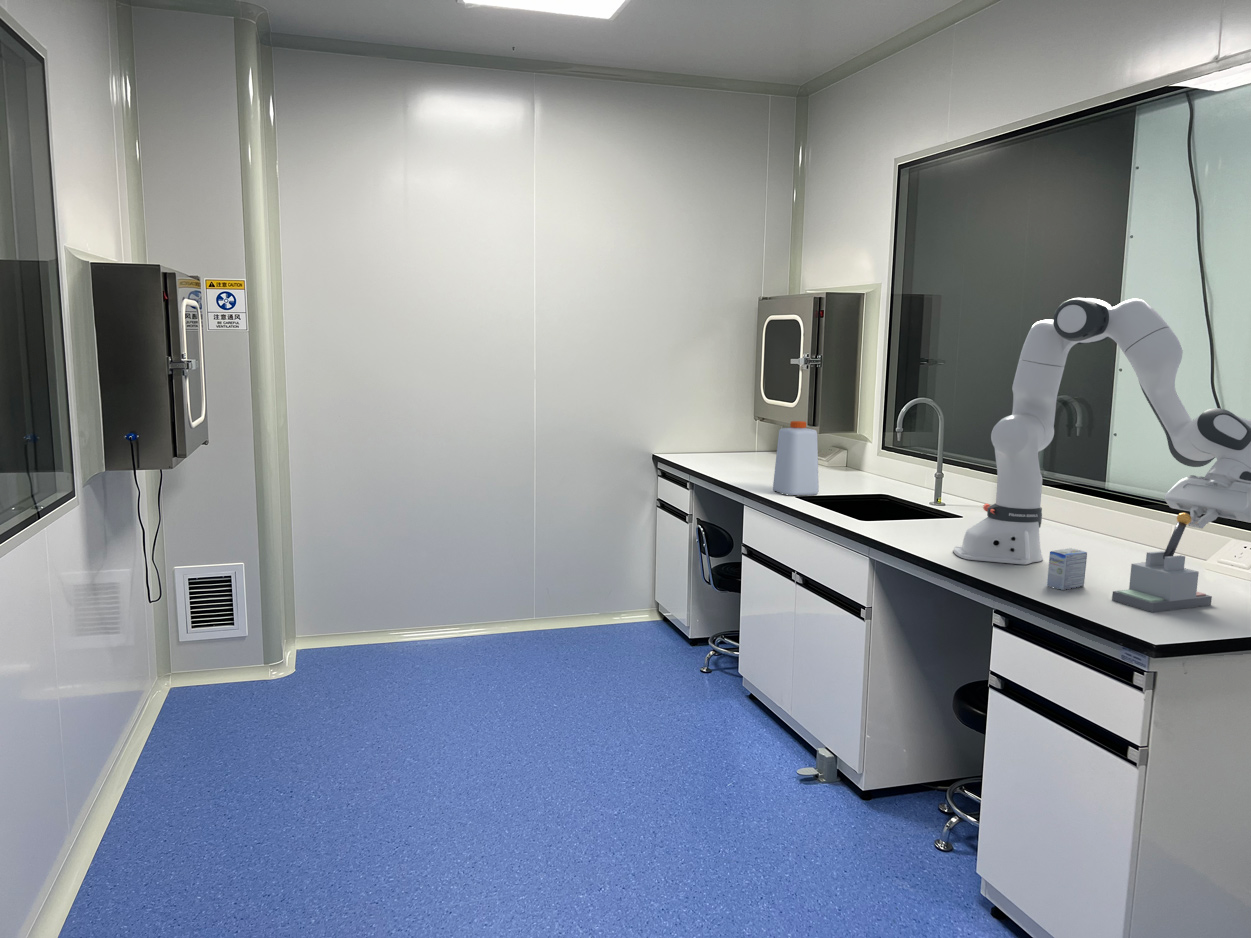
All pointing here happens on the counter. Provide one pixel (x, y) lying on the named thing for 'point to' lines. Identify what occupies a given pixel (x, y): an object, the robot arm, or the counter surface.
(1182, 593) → the breaker block
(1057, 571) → the medicine box
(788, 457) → the plastic bottle
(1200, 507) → the robot arm
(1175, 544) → the lever
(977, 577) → the counter surface
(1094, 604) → the counter surface
